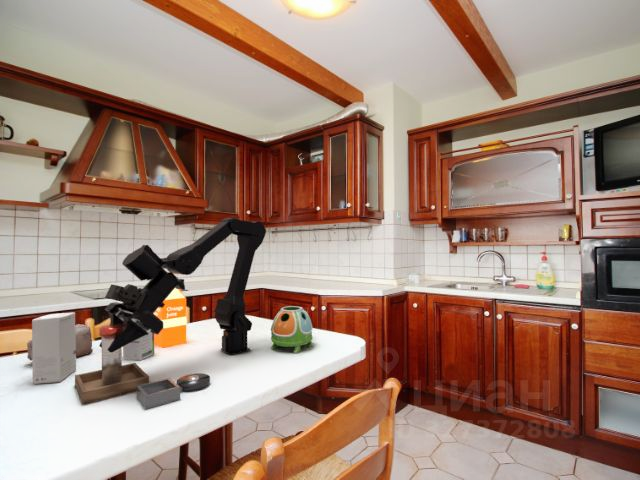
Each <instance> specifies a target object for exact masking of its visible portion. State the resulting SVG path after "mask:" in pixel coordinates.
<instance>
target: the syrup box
mask: <svg viewBox="0 0 640 480" xmlns="http://www.w3.org/2000/svg"><path fill="white" fill-rule="evenodd" d="M153 314H154V313H153ZM150 331H151V329H148V330H147V331H146V332H148V333H149V334H148V335H145V336H143V337H141V338H139V339H137V340H135V341H133V342H131V343H129V344H127V345H125V346H123V347H122V357H123V358H122V359H123V360H127V361H143V360H145V359H147V358H149V357H151V356H153V355H155V344H154V334H153V333H151V332H150Z"/></svg>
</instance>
